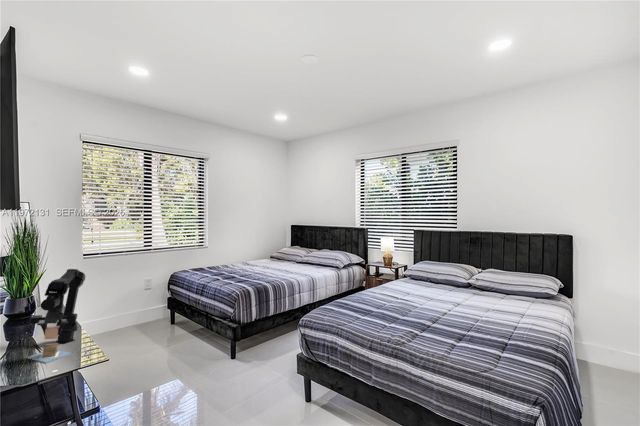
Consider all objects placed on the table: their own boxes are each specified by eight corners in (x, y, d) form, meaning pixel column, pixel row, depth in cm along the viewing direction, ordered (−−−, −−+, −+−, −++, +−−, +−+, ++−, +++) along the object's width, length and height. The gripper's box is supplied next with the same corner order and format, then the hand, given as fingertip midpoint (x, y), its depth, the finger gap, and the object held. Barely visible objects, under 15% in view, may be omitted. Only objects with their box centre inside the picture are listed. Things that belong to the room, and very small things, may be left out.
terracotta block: (46, 336, 162) (48, 326, 162) (58, 335, 165) (60, 325, 165) (44, 339, 158) (45, 329, 158) (56, 338, 160) (58, 328, 161)
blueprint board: (52, 349, 168) (52, 348, 168) (70, 354, 165) (71, 353, 165) (27, 358, 157) (27, 357, 157) (46, 363, 153) (46, 362, 153)
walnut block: (44, 353, 162) (45, 344, 162) (56, 352, 164) (58, 343, 164) (42, 357, 157) (43, 347, 158) (54, 356, 160) (56, 346, 160)
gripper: (27, 310, 150) (23, 342, 150) (75, 308, 160) (71, 338, 159) (34, 304, 160) (30, 334, 159) (79, 302, 169) (75, 331, 169)
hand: (52, 335), depth 161 cm, fingers closed on terracotta block, 5 cm apart
